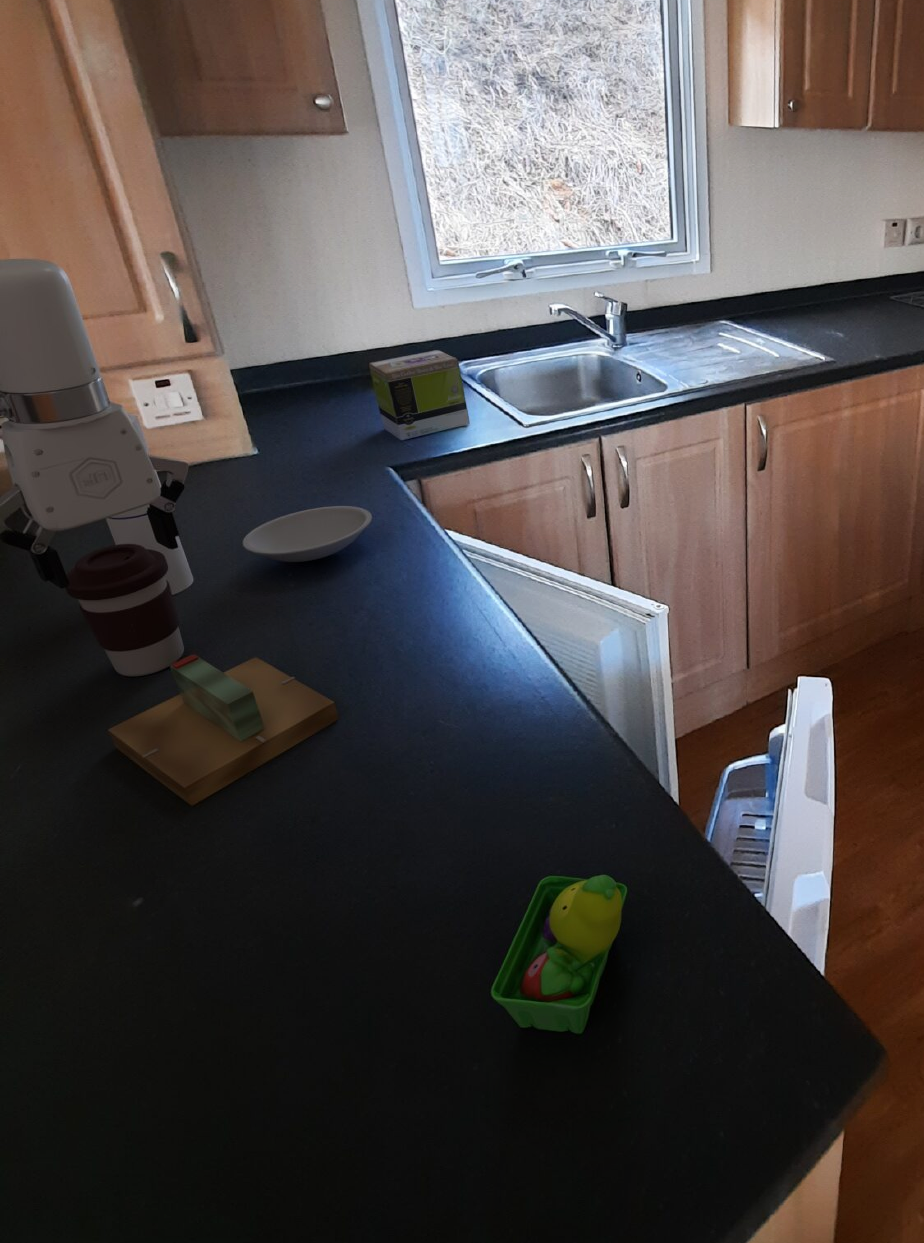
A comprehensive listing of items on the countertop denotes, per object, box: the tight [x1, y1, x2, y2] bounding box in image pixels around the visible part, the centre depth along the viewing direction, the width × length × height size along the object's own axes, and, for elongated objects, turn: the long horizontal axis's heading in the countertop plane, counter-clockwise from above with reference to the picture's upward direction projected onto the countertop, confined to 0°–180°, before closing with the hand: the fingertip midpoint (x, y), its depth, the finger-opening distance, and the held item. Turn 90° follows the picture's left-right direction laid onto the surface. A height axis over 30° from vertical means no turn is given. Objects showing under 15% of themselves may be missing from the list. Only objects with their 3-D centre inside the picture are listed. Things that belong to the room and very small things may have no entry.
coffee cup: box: [64, 544, 185, 677], centre depth 105 cm, size 10×10×15 cm
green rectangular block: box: [169, 653, 265, 741], centre depth 94 cm, size 12×3×5 cm, turn 57°
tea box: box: [368, 349, 471, 441], centre depth 180 cm, size 15×10×15 cm, turn 133°
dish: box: [242, 505, 373, 563], centre depth 131 cm, size 18×14×5 cm
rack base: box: [107, 656, 340, 807], centre depth 96 cm, size 16×16×3 cm
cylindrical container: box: [105, 413, 194, 596], centre depth 118 cm, size 7×7×25 cm
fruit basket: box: [490, 874, 628, 1035], centre depth 68 cm, size 11×9×11 cm
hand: (115, 563), depth 86 cm, fingers open, 9 cm apart
